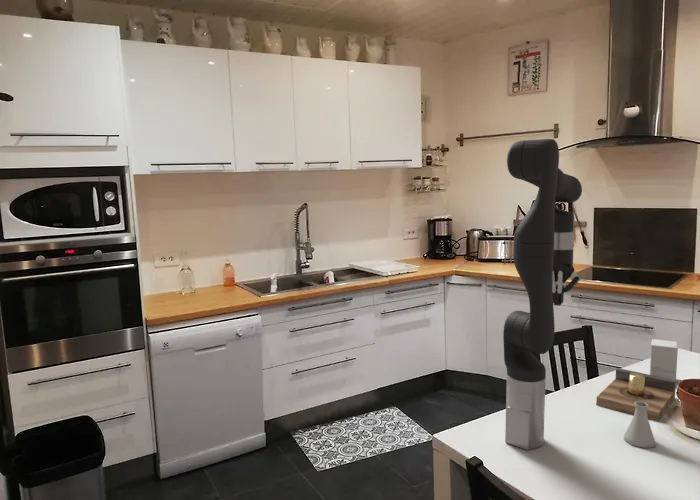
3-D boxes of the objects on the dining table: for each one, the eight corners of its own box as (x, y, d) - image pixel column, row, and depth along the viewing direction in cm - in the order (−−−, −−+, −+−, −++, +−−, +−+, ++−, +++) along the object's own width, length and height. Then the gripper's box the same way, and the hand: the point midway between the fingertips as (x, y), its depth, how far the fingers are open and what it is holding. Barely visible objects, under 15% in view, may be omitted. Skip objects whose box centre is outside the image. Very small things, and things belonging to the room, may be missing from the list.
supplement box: (675, 378, 168) (678, 341, 166) (675, 386, 162) (678, 347, 160) (649, 374, 172) (651, 338, 170) (648, 382, 166) (650, 344, 164)
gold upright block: (641, 405, 149) (642, 379, 148) (626, 401, 151) (627, 375, 150) (645, 401, 152) (646, 375, 151) (630, 397, 154) (631, 372, 153)
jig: (658, 421, 139) (659, 402, 138) (596, 404, 150) (597, 387, 149) (674, 397, 153) (675, 380, 153) (617, 384, 164) (617, 368, 163)
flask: (660, 450, 124) (663, 411, 123) (628, 447, 126) (630, 409, 125) (649, 435, 131) (652, 398, 130) (619, 433, 133) (621, 396, 132)
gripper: (531, 246, 151) (530, 304, 153) (578, 250, 142) (576, 310, 144) (542, 244, 156) (540, 299, 158) (587, 247, 147) (585, 305, 149)
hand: (557, 304), depth 151 cm, fingers closed
